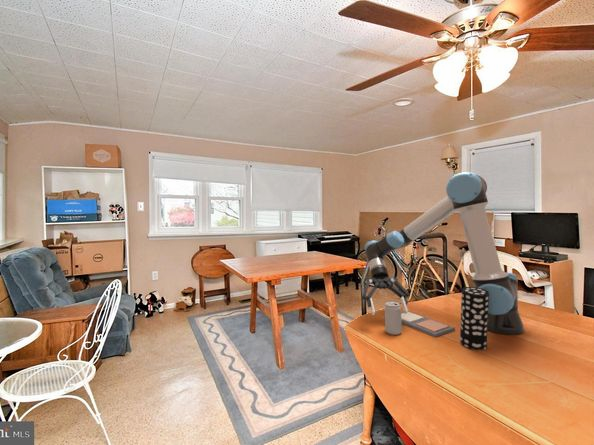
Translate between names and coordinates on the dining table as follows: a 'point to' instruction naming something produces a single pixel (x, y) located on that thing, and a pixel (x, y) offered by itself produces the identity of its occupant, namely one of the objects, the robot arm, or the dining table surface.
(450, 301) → the dining table surface
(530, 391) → the dining table surface
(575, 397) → the dining table surface
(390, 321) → the beverage can
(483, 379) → the dining table surface
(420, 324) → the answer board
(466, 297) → the spotted tube
